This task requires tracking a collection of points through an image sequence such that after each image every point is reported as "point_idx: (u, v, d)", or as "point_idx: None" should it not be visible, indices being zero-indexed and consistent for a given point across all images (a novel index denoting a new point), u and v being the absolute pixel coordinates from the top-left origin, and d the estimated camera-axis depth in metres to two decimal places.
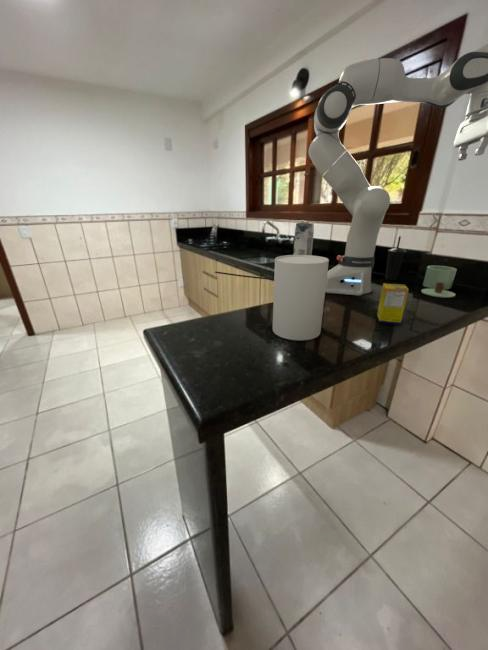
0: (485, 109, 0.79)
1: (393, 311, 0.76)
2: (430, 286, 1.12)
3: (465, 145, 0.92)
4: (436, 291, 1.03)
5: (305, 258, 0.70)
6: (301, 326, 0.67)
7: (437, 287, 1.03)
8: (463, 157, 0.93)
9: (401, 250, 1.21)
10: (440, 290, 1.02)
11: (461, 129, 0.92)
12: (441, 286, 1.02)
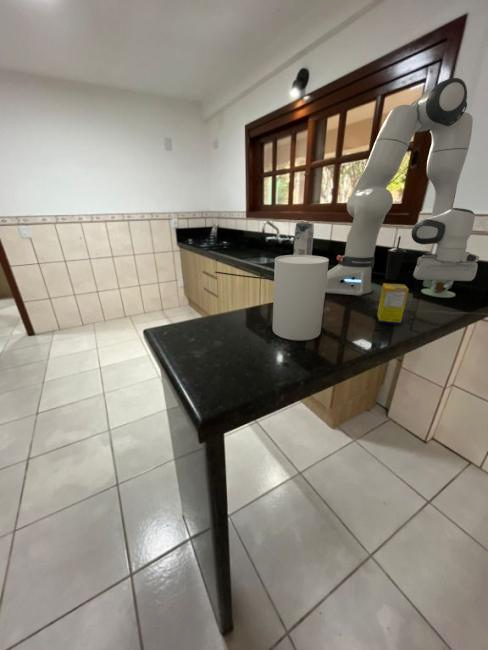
0: (469, 263, 0.96)
1: (393, 311, 0.76)
2: (430, 286, 1.12)
3: None
4: (436, 291, 1.03)
5: (305, 258, 0.70)
6: (301, 326, 0.67)
7: (437, 287, 1.03)
8: None
9: (401, 250, 1.21)
10: (440, 290, 1.02)
11: (427, 267, 1.00)
12: (441, 286, 1.02)
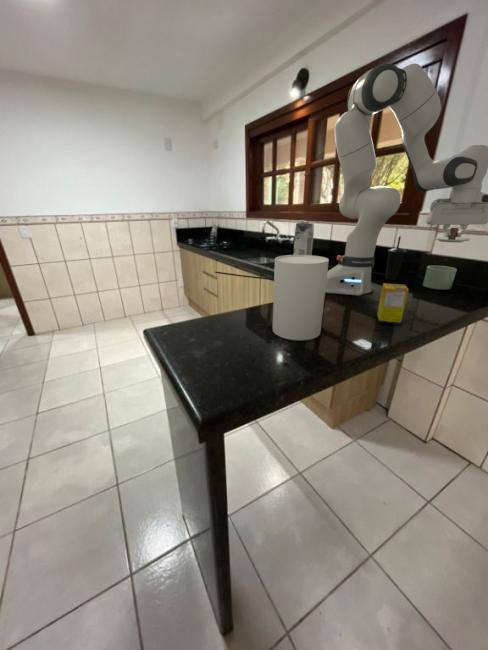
0: (484, 204, 0.95)
1: (393, 311, 0.76)
2: (430, 286, 1.12)
3: None
4: (450, 237, 1.02)
5: (305, 258, 0.70)
6: (301, 326, 0.67)
7: (451, 233, 1.02)
8: None
9: (401, 250, 1.21)
10: (454, 235, 1.02)
11: (441, 210, 0.99)
12: (455, 231, 1.01)
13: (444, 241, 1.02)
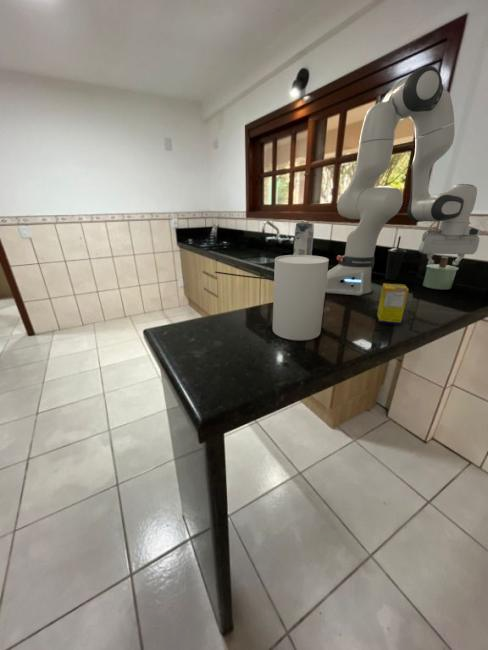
0: (471, 236, 1.03)
1: (393, 311, 0.76)
2: (430, 286, 1.12)
3: None
4: (440, 265, 1.10)
5: (305, 258, 0.70)
6: (301, 326, 0.67)
7: (441, 261, 1.10)
8: None
9: (401, 250, 1.21)
10: (444, 264, 1.09)
11: (432, 241, 1.06)
12: (445, 260, 1.09)
13: None
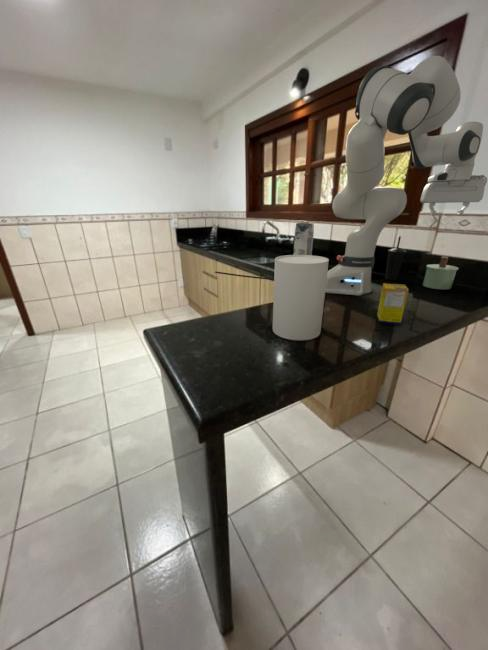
0: None
1: (393, 311, 0.76)
2: (430, 286, 1.12)
3: (464, 202, 1.02)
4: (440, 265, 1.10)
5: (305, 258, 0.70)
6: (301, 326, 0.67)
7: (441, 261, 1.10)
8: (458, 213, 1.04)
9: (401, 250, 1.21)
10: (444, 264, 1.09)
11: None
12: (445, 260, 1.09)
13: None
